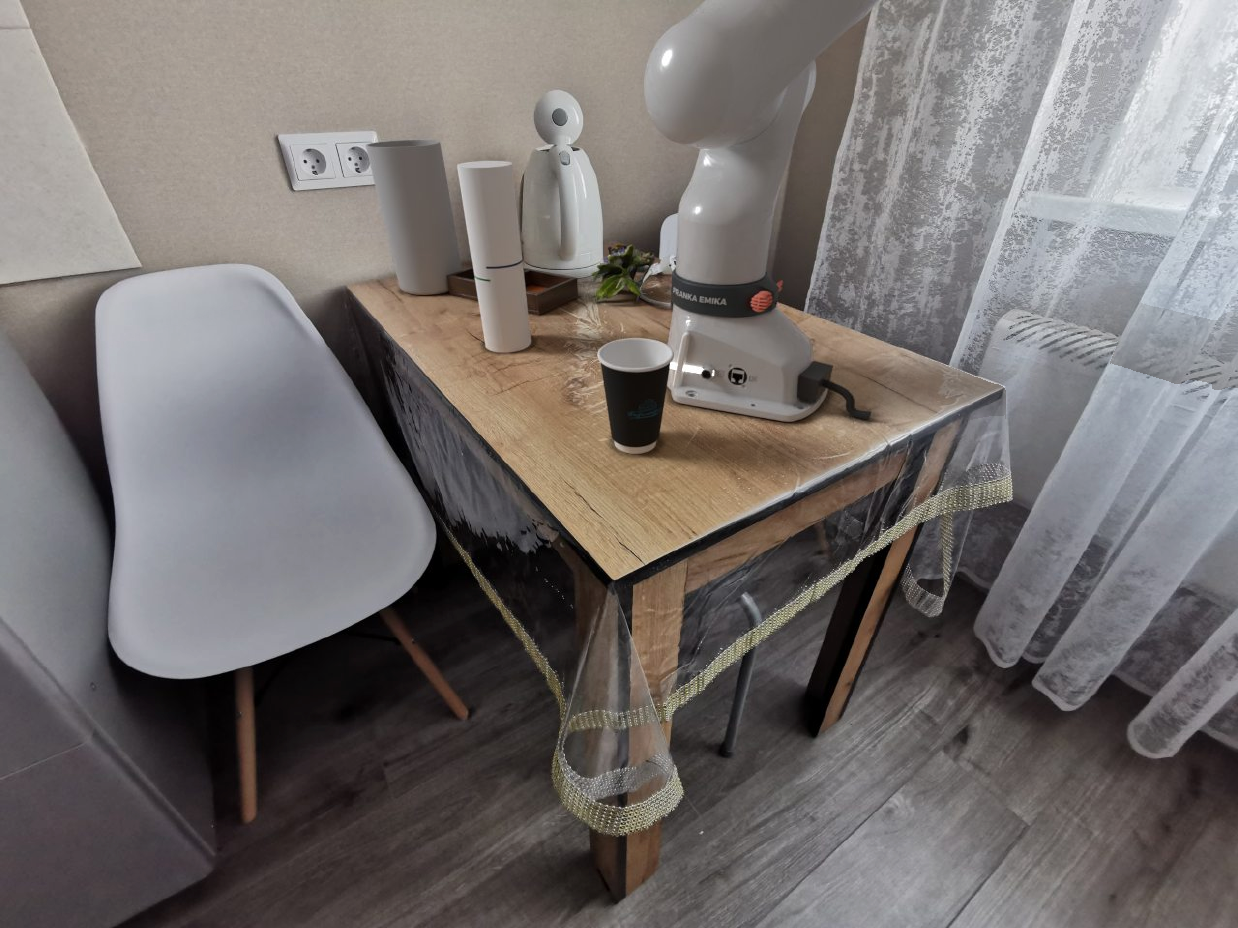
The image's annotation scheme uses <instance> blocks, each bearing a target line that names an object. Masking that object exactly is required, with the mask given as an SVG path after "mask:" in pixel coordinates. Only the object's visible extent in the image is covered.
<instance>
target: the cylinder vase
mask: <svg viewBox="0 0 1238 928" xmlns="http://www.w3.org/2000/svg"><path fill="white" fill-rule="evenodd" d="M365 148H366V149H365V150H366V152H367V157H368V161H369V165H370V170H371V174H372V179H373V182H374V186H375V190H376V195H377V199H378V203H379V207H380V212H381V215H382V220H383V224H384V228H385V233H386V237H387V240H388V241H387V242H388V245H389V249H390V253H391V257H392V263H393V266H394V271H395V274H396V278H397V283H398V287H399V288H400V290H401V291H403V292H404V293H406V294H410V295H416V296H431V295H440V294H444V293H445V294H446V293H449V287H448V282H447V277H446V276H447V275H450V274H453V273H455V272H458V271H461V270H463V267H462V261H461V255H460V249H459V243H458V237H457V231H456V225H455V220H454V214H453V209H452V203H451V195H450V191H449V185H448V180H447V173H446V168H445V167H446V166H445V162H444V156H443V150H442V145H441V141H440V140H432V139H405V140H389V141H388V140H387V141H377V142H371V143H367V144H365Z"/></svg>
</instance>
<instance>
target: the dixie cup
mask: <svg viewBox="0 0 1238 928" xmlns="http://www.w3.org/2000/svg"><path fill="white" fill-rule="evenodd" d="M596 354H597V355H596V357H597V360H598V361H599V362H600V367H601V374H602V381H603V388H604V394H605V401H606V407H607V408H606V409H607V414H608V421H609V427H610V435H611V438H612V440H613V441H614V446H615V447H616V448H617V450H619V451H620V452H623V453H626V454H631V455H639V454H640V455H641V454H644V453H648V452H651V451H652V450H653V449H654V448H656V445H657V441H658V439H659V438H660V432H661V426H662V422H663V421H662V420H663V414H664V408H665V402H666V397H667V395H666V394H667V389H668V387H667V383H668V377H669V370H670V364H671V362H672V360H673V358H674V352H673V350H672V348H670V347H669V346H668V345H667V344H666V343H664V342H662V341H659V340H657V339H651V338H643V337H627V338H620V339H616V340H613V341H610V342H608V343H606V344H604V345H602V346H601V347H600V348H599V349H598V351H597V353H596Z"/></svg>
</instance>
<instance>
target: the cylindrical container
mask: <svg viewBox="0 0 1238 928" xmlns="http://www.w3.org/2000/svg"><path fill="white" fill-rule="evenodd" d="M456 168H457V169H456V170H457V175H458V181H459V189H460V194H461V200H462V206H463V207H462V208H463V212H464V213H463V214H464V219H465V220H464V221H465V225H466V233H467V238H468V244H469V245H468V246H469V250H470V251H469V252H470V256H471V264H472V267H473V271H474V277H475V283H476V289H477V296H478V301H477V302H478V307H479V314H480V321H481V327H482V333H483V338H484V346H485V348H486V349H487V350H489V351H491V352H494V353H501V354H505V353H506V354H507V353H515V352H520V351H522V350H526V349H527V348H528V347H530V346H531V344H532V336H531V335H532V334H531V327H530V326H531V325H530V316H529V313H528V307H527V297H526V288H525V279H524V269H523V268H524V262H523V261H524V260H523V253H522V252H523V251H522V242H521V234H520V233H521V231H520V223H519V215H518V206H517V205H518V204H517V196H516V187H515V177H514V169H513V163H512V161H506V160H478V161H477V160H476V161H468V162H467V161H466V162H461V163H458V164H457V165H456Z"/></svg>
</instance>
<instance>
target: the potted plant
mask: <svg viewBox="0 0 1238 928" xmlns="http://www.w3.org/2000/svg"><path fill="white" fill-rule="evenodd" d="M607 252H608V254H607V255H606V256H605V258H602V262H599V264H597V265H596V268H597V270H596V271H592V272H591V275H592V276H593V277H592V283H595V281H596V280H598V279H600V278H601V280H600V281H599V282H600V283H599V286H598V289H597V290H595V293H594V300H595V301H596V303H599V301H601V300H602V299H604V298H606V299H611V298H613V297H615V296H616V295H617V294H618V293H620V292H621V291H622V290H624V288H625V287H627V288H628V289H629V290H630V292H632V293H633V294H634V295H636V303H637V304H638V303H639V302H638V301H639V298H640V296H641V295H642V293H641V289H642V287H643V284H644V280H645V278H646V276H647V274H648V272H649V271H650V269H651V267H652V266H653V264H654V262H655V260H656V258H655V255H654V254H655V253H653V254H652V253H651V252H647V253H646V254H644V253H643V251H642V250H641V249H640V248H637V247H635V245H633V244H632V243H631V244H630V245H628V244H621V243H617V244H615V247H614V246H607ZM643 258H644V259H643ZM647 266H648V267H647ZM646 267H647V268H646ZM637 273H638V274H639V273H640V274H642V273H643V276H642V277H641V279H639V280H638V281H635V277H636V274H637Z"/></svg>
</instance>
